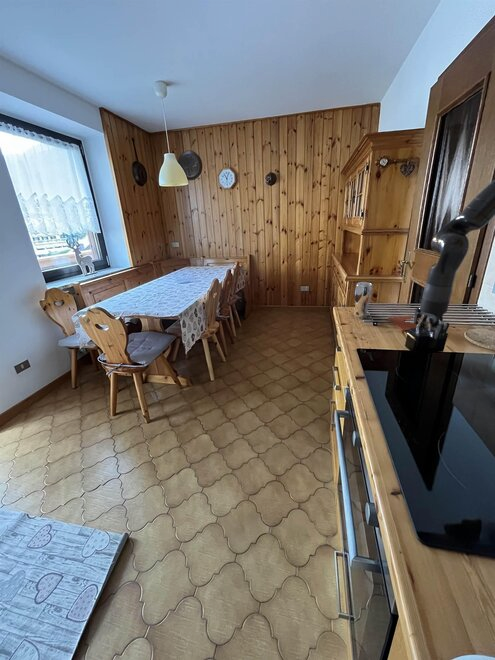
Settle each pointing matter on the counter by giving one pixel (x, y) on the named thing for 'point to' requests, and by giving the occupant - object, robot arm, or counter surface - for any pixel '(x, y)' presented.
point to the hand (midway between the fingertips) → (424, 342)
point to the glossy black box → (423, 341)
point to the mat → (403, 323)
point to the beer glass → (362, 299)
